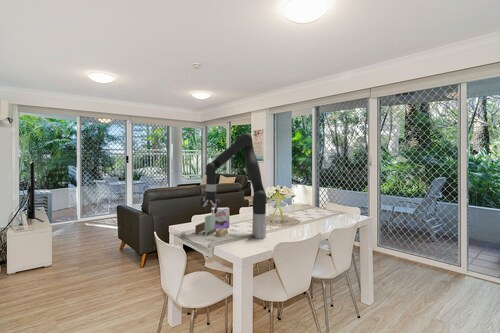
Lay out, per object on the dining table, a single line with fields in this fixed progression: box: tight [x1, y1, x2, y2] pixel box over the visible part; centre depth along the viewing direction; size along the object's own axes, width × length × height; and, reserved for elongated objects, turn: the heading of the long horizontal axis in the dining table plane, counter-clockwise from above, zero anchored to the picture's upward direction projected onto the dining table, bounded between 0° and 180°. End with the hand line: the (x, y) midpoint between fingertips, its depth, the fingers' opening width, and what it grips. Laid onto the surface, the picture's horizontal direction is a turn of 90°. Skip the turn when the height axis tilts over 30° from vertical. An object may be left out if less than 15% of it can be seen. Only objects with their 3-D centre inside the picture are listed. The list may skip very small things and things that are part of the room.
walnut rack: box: [194, 221, 217, 236], centre depth 204 cm, size 10×12×7 cm
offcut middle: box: [215, 230, 229, 238], centre depth 200 cm, size 5×10×2 cm, turn 161°
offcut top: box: [214, 228, 228, 235], centre depth 200 cm, size 5×10×2 cm, turn 162°
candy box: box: [211, 207, 231, 230], centre depth 219 cm, size 14×6×16 cm, turn 101°
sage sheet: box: [204, 213, 215, 236], centre depth 203 cm, size 2×11×14 cm, turn 160°
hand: (210, 212), depth 203 cm, fingers open, 8 cm apart
